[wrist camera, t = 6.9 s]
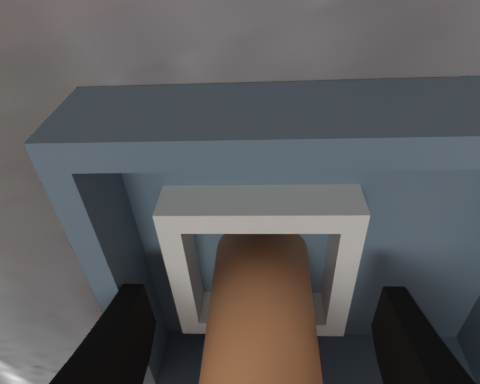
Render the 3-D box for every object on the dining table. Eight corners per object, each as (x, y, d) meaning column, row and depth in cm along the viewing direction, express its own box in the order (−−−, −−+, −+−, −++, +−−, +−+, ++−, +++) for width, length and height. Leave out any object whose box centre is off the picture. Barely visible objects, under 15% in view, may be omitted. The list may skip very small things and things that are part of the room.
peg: (324, 261, 13) (365, 513, 8) (252, 291, 15) (244, 526, 9) (273, 205, 12) (280, 469, 7) (198, 245, 13) (152, 492, 8)
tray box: (616, 72, 9) (733, 132, 7) (463, 334, 17) (495, 405, 15) (77, 87, 10) (23, 144, 8) (157, 328, 18) (141, 394, 16)
